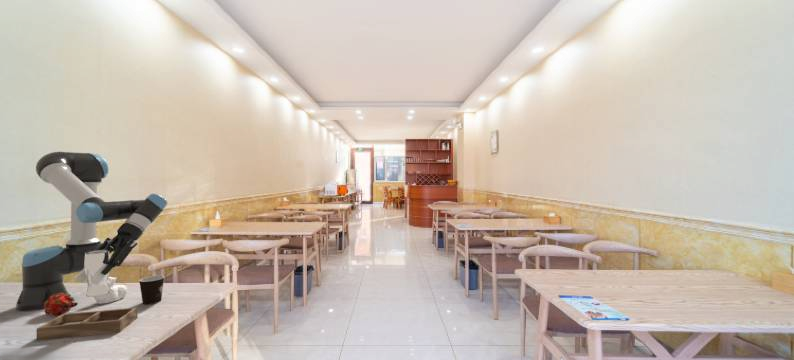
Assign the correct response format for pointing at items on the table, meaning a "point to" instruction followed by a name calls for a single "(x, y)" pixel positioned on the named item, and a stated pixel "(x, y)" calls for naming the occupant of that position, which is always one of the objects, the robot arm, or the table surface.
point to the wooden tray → (87, 323)
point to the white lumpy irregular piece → (112, 292)
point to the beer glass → (92, 266)
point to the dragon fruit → (59, 304)
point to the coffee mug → (151, 289)
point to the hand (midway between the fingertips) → (86, 281)
